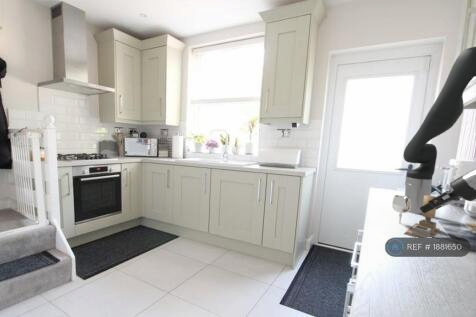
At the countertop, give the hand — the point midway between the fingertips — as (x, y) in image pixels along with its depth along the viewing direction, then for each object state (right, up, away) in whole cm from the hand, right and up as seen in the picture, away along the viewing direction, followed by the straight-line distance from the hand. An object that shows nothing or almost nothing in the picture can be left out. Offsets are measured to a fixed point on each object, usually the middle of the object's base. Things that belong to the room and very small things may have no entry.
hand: (427, 209), depth 80 cm
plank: (-4, -9, -3) cm, 10 cm away
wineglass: (-7, -8, +5) cm, 12 cm away
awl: (0, -7, 0) cm, 7 cm away
